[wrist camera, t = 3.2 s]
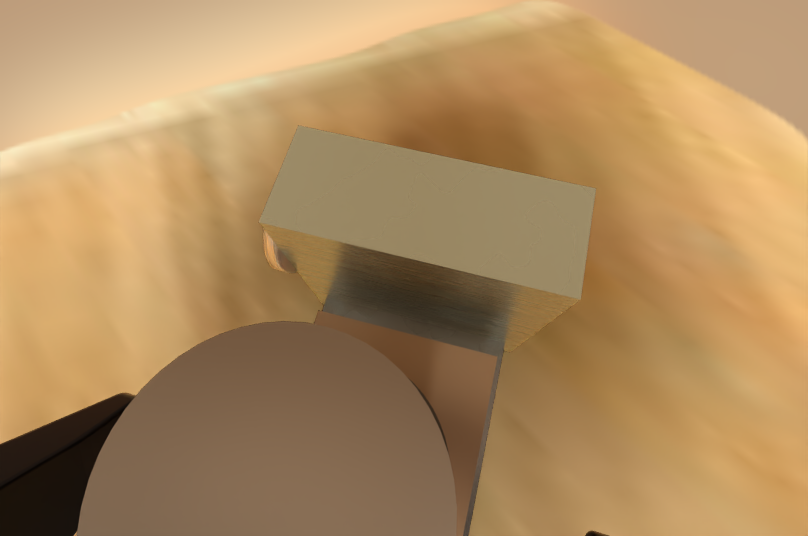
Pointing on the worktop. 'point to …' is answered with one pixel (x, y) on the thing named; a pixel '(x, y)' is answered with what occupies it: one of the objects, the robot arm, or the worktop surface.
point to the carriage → (297, 437)
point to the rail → (428, 243)
